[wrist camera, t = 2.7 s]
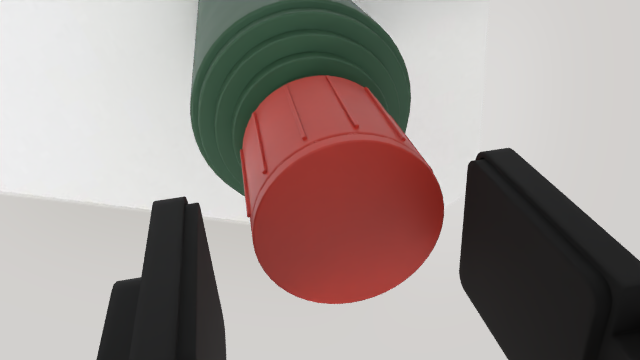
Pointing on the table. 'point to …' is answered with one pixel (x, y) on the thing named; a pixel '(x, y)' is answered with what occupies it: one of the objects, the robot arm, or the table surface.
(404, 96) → the bottle
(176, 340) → the robot arm
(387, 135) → the cap
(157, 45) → the table surface
